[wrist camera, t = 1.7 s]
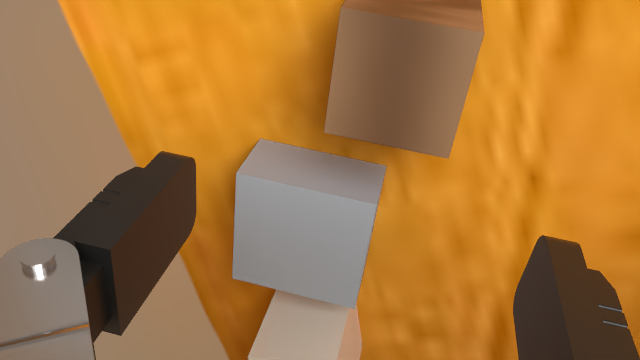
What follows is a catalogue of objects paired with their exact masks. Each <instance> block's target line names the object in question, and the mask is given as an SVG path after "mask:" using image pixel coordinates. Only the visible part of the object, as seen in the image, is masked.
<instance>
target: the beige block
mask: <svg viewBox="0 0 640 360" xmlns="http://www.w3.org/2000/svg"><path fill="white" fill-rule="evenodd" d="M361 350H362V339H361V332H360V325H359V318H358V311H357V304H356V306H355V309H352V308H348V307H344V306H340V305H336V304H332V303H328V302H324V301H320V300H316V299H312V298H308V297H304V296H300V295H296V294H293V293H289V292H285V291H281V290H277V289H276V291H275V293H274V296H273V298H272V300H271V303H270V305H269V308H268V310H267V312H266V315H265V317H264V319H263V322H262V324H261V327H260V329H259V331H258V334H257V336H256V339H255V341H254V343H253V346H252V348H251V350H250V353H249V355H248V360H360V355H361Z"/></svg>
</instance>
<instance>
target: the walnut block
mask: <svg viewBox="0 0 640 360" xmlns="http://www.w3.org/2000/svg"><path fill="white" fill-rule="evenodd" d="M483 36H484V26H483V17H482V7H481V0H346V1H345V2H344V4H343V5H342V6H341V9H340V17H339V24H338V32H337V39H336V47H335V54H334V61H333V69H332V76H331V84H330V91H329V99H328V106H327V114H326V121H325V128H324V133H328V134H333V135H338V136H343V137H347V138H352V139H357V140H362V141H366V142H371V143H376V144H381V145H386V146H390V147H395V148H400V149H405V150H409V151H414V152H419V153H424V154H429V155H433V156H438V157H443V158H448V159H449V155H450V152H451V148H452V145H453V141H454V138H455V134H456V131H457V127H458V124H459V120H460V117H461V113H462V110H463V106H464V103H465V99H466V96H467V92H468V89H469V85H470V81H471V78H472V74H473V71H474V67H475V64H476V60H477V57H478V53H479V50H480V46H481V43H482V39H483Z"/></svg>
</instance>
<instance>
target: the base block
mask: <svg viewBox="0 0 640 360" xmlns="http://www.w3.org/2000/svg"><path fill="white" fill-rule="evenodd" d="M386 167H387V166H385V165H381V164H376V163H371V162H367V161H362V160H357V159H353V158H348V157H343V156H339V155H334V154H330V153H325V152H320V151H316V150H311V149H306V148H302V147H297V146H292V145H288V144H283V143H278V142H274V141H269V140H264V139H260V140H259V141H258V143H257V144H256V145H255V147H254V148H253V150H252V151H251V153H250V154H249V155H248V157H247V158H246V160H245V161H244V163H243V164H242V165H241V167H240V168H239V170H238V171H237V173H236V192H235V218H234V245H233V271H232V278H233V279H237V280H241V281H245V282H249V283H253V284H257V285H261V286H265V287H269V288H273V289H277V290H281V291H285V292H289V293H293V294H296V295H300V296H304V297H308V298H312V299H316V300H320V301H324V302H328V303H332V304H336V305H340V306H344V307H348V308H352V309H355V306H356V302H357V298H358V294H359V289H360V285H361V281H362V277H363V273H364V269H365V264H366V260H367V255H368V250H369V246H370V241H371V236H372V232H373V227H374V222H375V218H376V213H377V208H378V204H379V199H380V194H381V190H382V185H383V181H384V176H385V171H386Z"/></svg>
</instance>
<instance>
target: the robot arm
mask: <svg viewBox="0 0 640 360" xmlns="http://www.w3.org/2000/svg"><path fill="white" fill-rule="evenodd" d="M195 217H196V164H195V160H194V159H193V158H192V157H187V156H183V155H178V154H173V153H169V152H164V151H162V152H160V153H159V154H158V155H157V156H156V157H155V158H154V159H153V160H152V161H151V162H150V163H149V164H148V165H147V166H146V167H145V168H140V167H134V168H132V169H130V170H128V171H126V172H124V173H122V174H120V175H118V176H116V177H115V178H114V179H113V180H112V181H111V182H110V183H109V184H108V185H107V186H106V187H105V188H104V189H103V192H102V191H101V192H100V193H99V194H98V195H97V196H96V197H95V198H94V199H93V201H92V202H89V203H88V204H87V205H86V207H84V208H83V209H82V210H81V211H80V212H79V213H78V214H77V215H76V216H75V217H74V218H73V219H72V220H71V221H70V222H69V223H68V224H67V225H66V226H65V227H64V228H63V229H62V230H61V231H60V232H59V233H58V234H57V235H56V236H55V237H54V238H43V239H36V240H31V241H28V242H25V243H22V244H20V245H18V246H16V247H14V248H12V249H11V250H9V251H8V252H7V253H6V254H5V255H4V256H3V257H2V258H1V259H0V360H96V357H95V351H94V345H93V343H94V341H95V340H96V338H97V337H98V336H99V334H100V333H101V332H102V331H105V332H109V333H112V334H116V335H120V336H121V335H122V333H123V332H124V330H125V329H126V328H127V326H128V324H129V323H130V322H131V320H132V319H133V317H134V316H135V314H136V313H137V311H138V310H139V308H140V307H141V305H142V304H143V303H144V301H145V300H146V298H147V297H148V295H149V294H150V292H151V291H152V289H153V288H154V286H155V285H156V283H157V282H158V281H159V279H160V278H161V276H162V275H163V273H164V272H165V270H166V269H167V267H168V266H169V264H170V263H171V261H172V260H173V258H174V257H175V255H176V254H177V253H178V251H179V250H180V248H181V247H182V245H183V244H184V242H185V241H186V239H187V238H188V236H189V235H190V233H191V231H192V228H193V225H194V222H195ZM513 315H514V323H515V332H516V340H517V348H518V356H519V360H640V358H639V355H638V353H637V350H636V347H635V344H634V341H633V339H632V336H631V333H630V330H629V329H627V326H628V324H627V322H626V319H625V316H624V313H622V308H621V305H620V302H619V299H618V296H617V293H616V291H615V289H614V288H613V287H612V286H611V284H610V283H609V282H608V281H607V280H606V278H605V277H604V276H603V275H602V274H601V273H600V271H596V270H592V269H587V266H586V263H585V260H584V256H583V253H582V250H581V247H580V245H579V244H578V243H576V242H571V241H567V240H562V239H558V238H553V237H548V236H544V235H543V236H541V237H540V238H539V239H538V241H537V243H536V245H535V247H534V249H533V252H532V254H531V256H530V259H529V261H528V263H527V265H526V268H525V270H524V272H523V275H522V277H521V279H520V282H519V284H518V286H517V289H516V293H515V297H514V305H513Z"/></svg>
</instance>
